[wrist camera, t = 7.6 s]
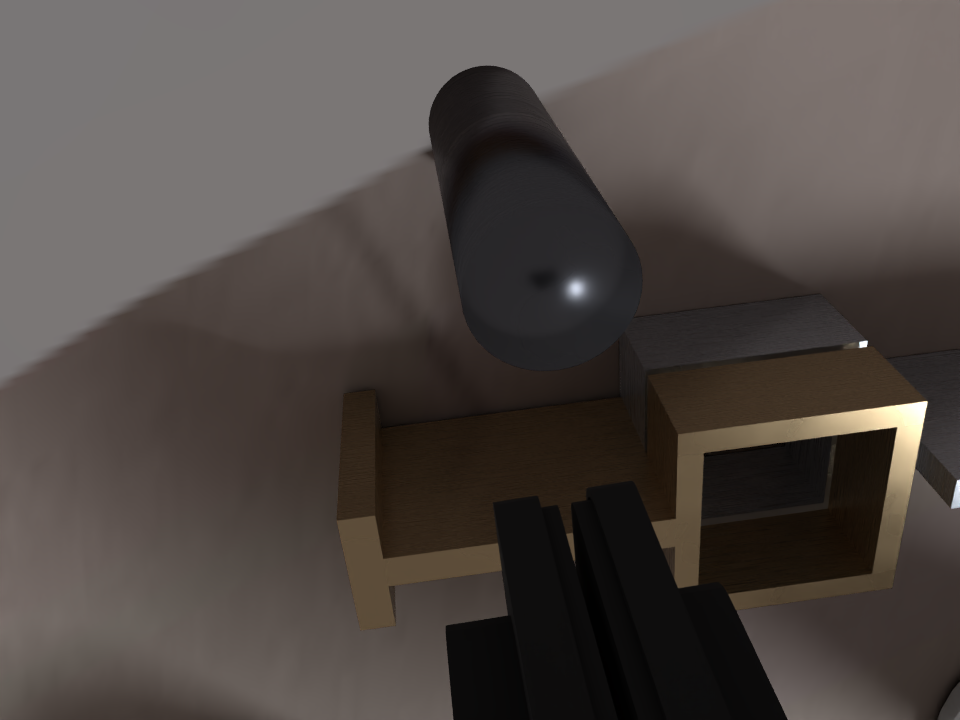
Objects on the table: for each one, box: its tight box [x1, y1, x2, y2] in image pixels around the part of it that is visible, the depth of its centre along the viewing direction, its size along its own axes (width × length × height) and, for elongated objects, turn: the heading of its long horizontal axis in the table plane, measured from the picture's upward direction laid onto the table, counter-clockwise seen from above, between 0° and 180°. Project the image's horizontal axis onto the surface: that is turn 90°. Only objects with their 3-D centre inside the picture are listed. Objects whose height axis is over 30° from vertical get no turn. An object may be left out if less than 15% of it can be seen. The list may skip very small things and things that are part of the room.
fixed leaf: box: [619, 294, 960, 526], centre depth 28 cm, size 16×7×6 cm, turn 95°
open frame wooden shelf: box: [337, 346, 927, 631], centre depth 28 cm, size 16×7×6 cm, turn 95°
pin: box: [429, 66, 642, 371], centre depth 21 cm, size 3×3×11 cm
